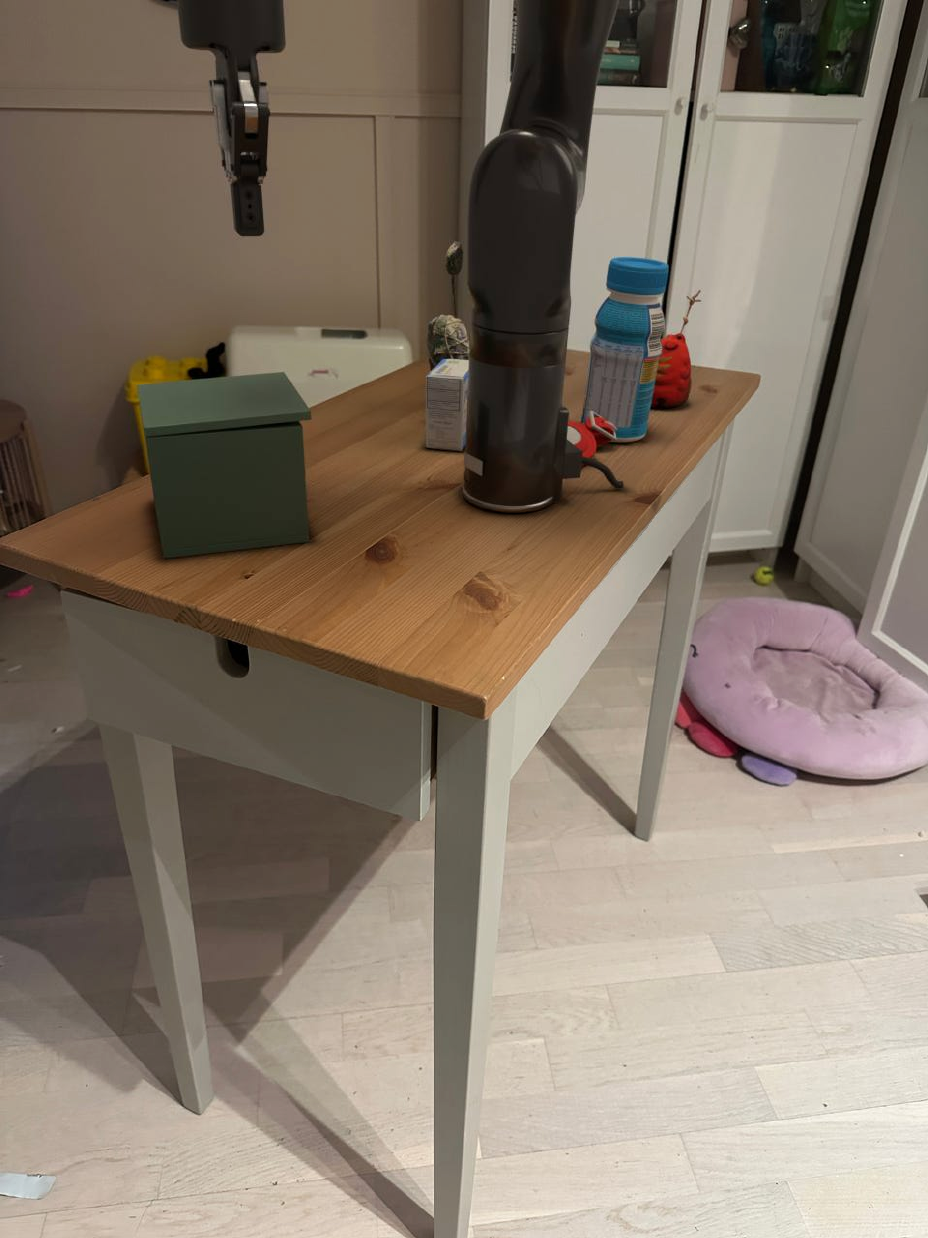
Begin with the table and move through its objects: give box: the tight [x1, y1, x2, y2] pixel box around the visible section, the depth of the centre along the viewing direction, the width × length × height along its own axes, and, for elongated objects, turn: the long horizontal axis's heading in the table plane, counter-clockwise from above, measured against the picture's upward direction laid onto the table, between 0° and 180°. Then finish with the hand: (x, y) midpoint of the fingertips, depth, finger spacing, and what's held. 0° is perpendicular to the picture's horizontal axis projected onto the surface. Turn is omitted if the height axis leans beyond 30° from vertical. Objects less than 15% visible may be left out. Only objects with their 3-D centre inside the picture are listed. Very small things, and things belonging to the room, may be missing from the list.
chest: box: [138, 401, 310, 560], centre depth 80 cm, size 13×13×11 cm
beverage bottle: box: [580, 256, 669, 443], centre depth 105 cm, size 8×8×20 cm
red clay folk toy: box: [650, 289, 702, 409], centre depth 118 cm, size 8×7×15 cm
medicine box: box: [425, 359, 469, 452], centre depth 103 cm, size 8×4×9 cm, turn 168°
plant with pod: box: [426, 241, 470, 372], centre depth 112 cm, size 8×11×20 cm
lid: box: [136, 371, 312, 437], centre depth 77 cm, size 13×13×1 cm
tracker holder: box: [567, 411, 617, 467], centre depth 103 cm, size 12×4×10 cm
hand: (249, 234), depth 72 cm, fingers closed
